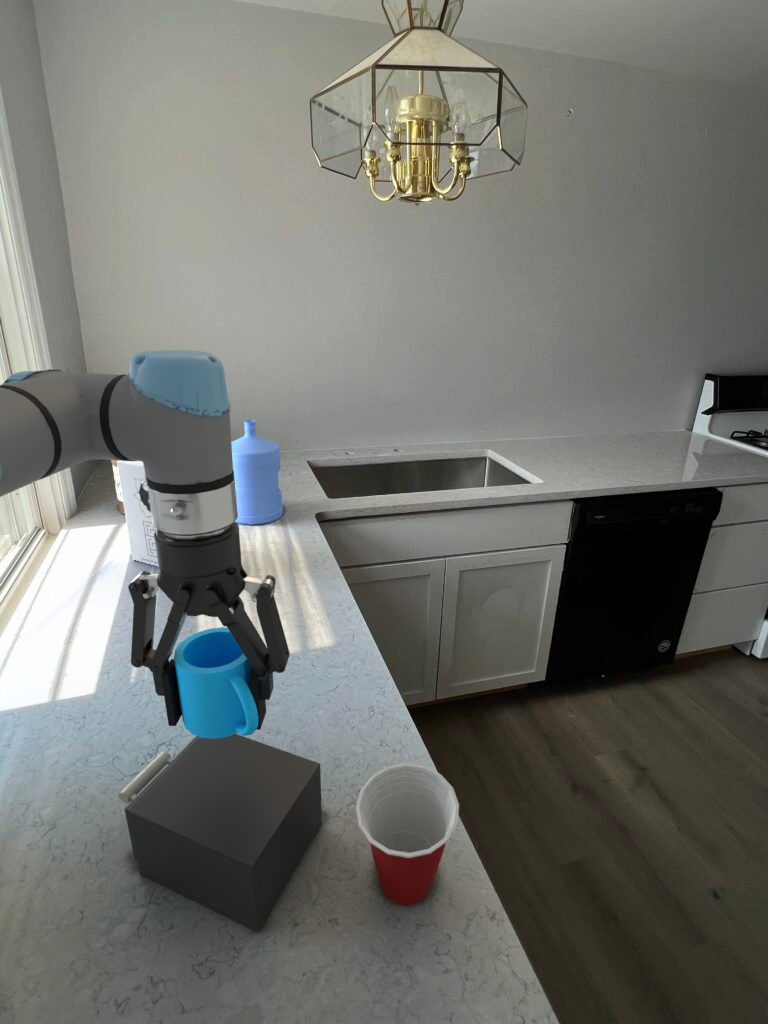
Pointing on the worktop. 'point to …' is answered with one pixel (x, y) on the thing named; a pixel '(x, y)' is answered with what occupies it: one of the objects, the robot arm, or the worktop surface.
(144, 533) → the cereal box
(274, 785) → the dark grey rectangular box
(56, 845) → the worktop surface
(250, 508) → the water jug
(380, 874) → the plastic cup
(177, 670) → the mug
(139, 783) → the drawer
